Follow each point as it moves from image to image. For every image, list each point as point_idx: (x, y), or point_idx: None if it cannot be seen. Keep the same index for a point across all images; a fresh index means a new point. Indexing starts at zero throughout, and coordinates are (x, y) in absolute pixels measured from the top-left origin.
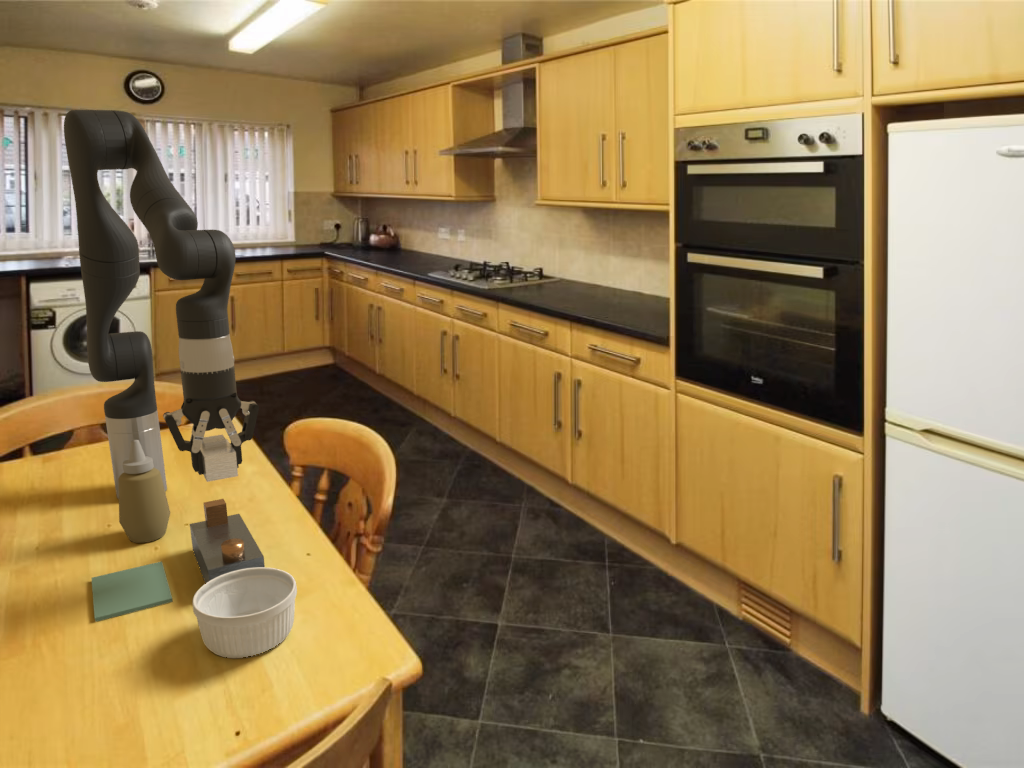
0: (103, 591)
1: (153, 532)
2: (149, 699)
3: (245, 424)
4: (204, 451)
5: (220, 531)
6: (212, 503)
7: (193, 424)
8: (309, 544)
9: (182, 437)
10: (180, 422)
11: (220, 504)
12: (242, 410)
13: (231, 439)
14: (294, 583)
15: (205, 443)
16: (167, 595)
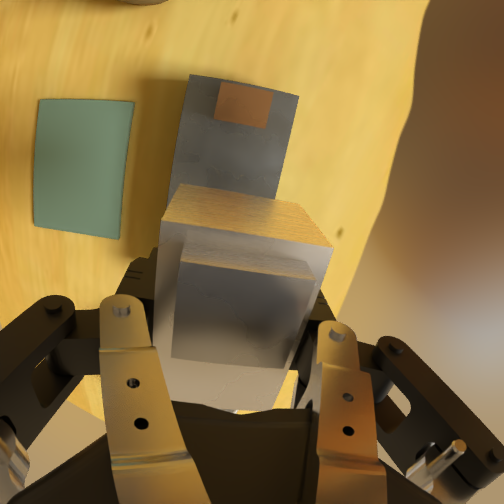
0: (45, 156)
1: (151, 3)
2: (89, 376)
3: (409, 394)
4: (165, 355)
5: (227, 157)
6: (238, 103)
7: (102, 395)
8: (359, 203)
9: (55, 411)
10: (24, 461)
11: (251, 124)
12: (425, 476)
13: (293, 400)
14: (235, 412)
15: (176, 358)
16: (113, 228)
